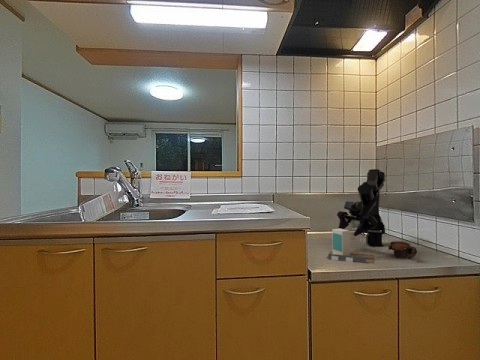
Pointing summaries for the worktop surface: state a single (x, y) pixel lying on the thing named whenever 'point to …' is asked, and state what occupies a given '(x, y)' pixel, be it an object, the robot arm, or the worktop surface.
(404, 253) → the pottery mug
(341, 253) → the carton
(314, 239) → the worktop surface
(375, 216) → the robot arm
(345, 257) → the rail
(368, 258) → the shelf board
